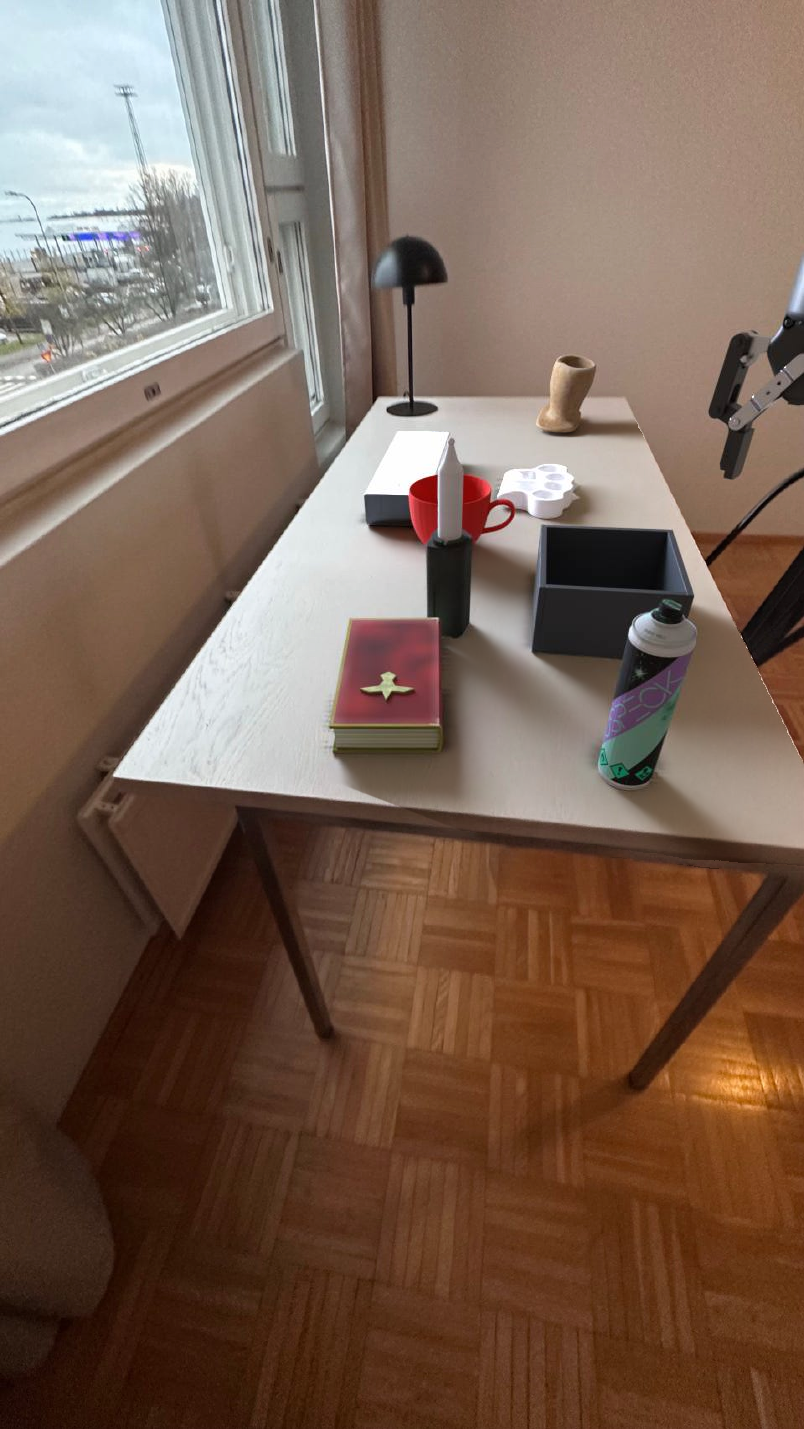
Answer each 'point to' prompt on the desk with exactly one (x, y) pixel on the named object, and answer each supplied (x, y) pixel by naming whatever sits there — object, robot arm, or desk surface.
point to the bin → (602, 586)
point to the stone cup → (567, 393)
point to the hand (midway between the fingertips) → (785, 487)
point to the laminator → (403, 475)
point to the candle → (449, 553)
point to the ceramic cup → (473, 507)
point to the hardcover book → (390, 687)
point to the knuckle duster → (539, 490)
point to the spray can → (646, 695)
